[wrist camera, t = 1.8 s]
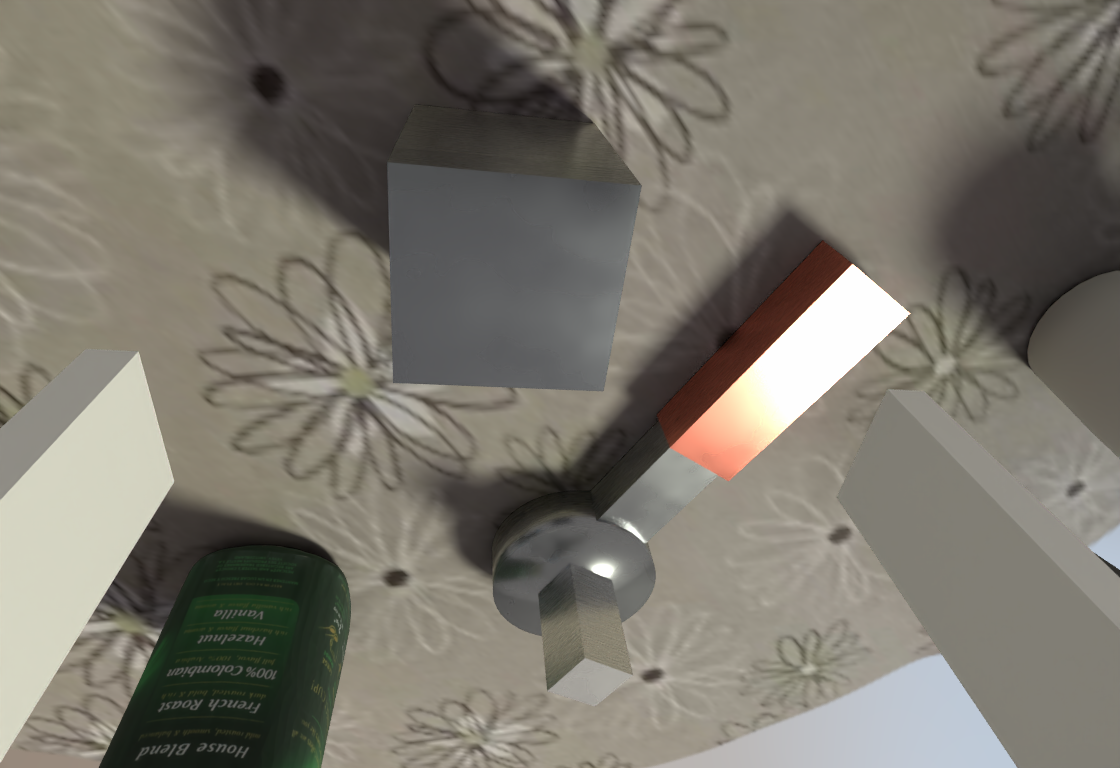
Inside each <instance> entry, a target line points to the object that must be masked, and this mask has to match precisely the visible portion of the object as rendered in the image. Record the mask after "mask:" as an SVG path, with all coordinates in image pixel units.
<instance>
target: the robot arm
mask: <svg viewBox="0 0 1120 768" xmlns="http://www.w3.org/2000/svg"><path fill="white" fill-rule="evenodd" d="M173 483H174V479H173V475H172V472H171V468H170V464H169V461H168V457H167V454H166V450H165V446H164V443H163V439H162V435H161V432H160V428H159V424H158V421H157V417H156V413H155V410H154V406H153V402H152V399H151V395H150V392H149V388H148V384H147V381H146V377H145V373H144V370H143V366H142V362H141V359H140V355H139V351H119V350H99V349H85V350H84V351H83V352H82V353H81V354H80V355H79V356H78V357H77V358H76V359H75V360H74V361H72V362H71V363H70V364H69V365H68V366H67V367H66V368H65V369H64V370H63V371H62V372H61V373H60V374H58V375H57V376H56V377H55V378H54V379H53V380H52V381H51V382H50V383H49V384H48V385H47V386H46V387H44V388H43V389H42V390H41V391H40V392H39V393H38V394H37V395H36V396H35V397H34V398H33V399H32V400H30V401H29V402H28V403H27V404H26V405H25V406H24V407H23V408H22V409H21V410H20V411H19V412H18V413H16V414H15V415H14V416H13V417H12V418H11V419H10V420H9V421H8V422H7V423H6V424H5V425H4V426H2V427H1V428H0V762H1V761H2V759H3V757H4V756H5V754H6V753H7V751H8V749H9V748H10V746H11V745H12V743H13V741H14V740H15V738H16V736H17V735H18V733H19V732H20V730H21V728H22V727H23V725H24V724H25V722H26V720H27V719H28V717H29V715H30V714H31V712H32V711H33V709H34V707H35V706H36V704H37V703H38V701H39V699H40V698H41V696H42V695H43V693H44V691H45V690H46V688H47V686H48V685H49V683H50V682H51V680H52V678H53V677H54V675H55V674H56V672H57V670H58V669H59V667H60V665H61V664H62V662H63V661H64V659H65V657H66V656H67V654H68V653H69V651H70V649H71V648H72V646H73V644H74V643H75V641H76V640H77V638H78V636H79V635H80V633H81V632H82V630H83V628H84V627H85V625H86V623H87V622H88V620H89V619H90V617H91V615H92V614H93V612H94V611H95V609H96V607H97V606H98V604H99V603H100V601H101V599H102V598H103V596H104V594H105V593H106V591H107V590H108V588H109V586H110V585H111V583H112V582H113V580H114V578H115V577H116V575H117V573H118V572H119V570H120V569H121V567H122V565H123V564H124V562H125V561H126V559H127V557H128V556H129V554H130V552H131V551H132V549H133V548H134V546H135V544H136V543H137V541H138V540H139V538H140V536H141V535H142V533H143V531H144V530H145V528H146V527H147V525H148V523H149V522H150V520H151V519H152V517H153V515H154V514H155V512H156V511H157V509H158V507H159V506H160V504H161V502H162V501H163V499H164V498H165V496H166V494H167V493H168V491H169V490H170V488H171V486H172V485H173ZM837 498H838V500H839V501H840V503H841V504H842V506H843V507H844V509H845V510H846V512H847V513H848V515H849V516H850V518H851V519H852V521H853V522H854V524H855V525H856V527H857V528H858V530H859V531H860V533H861V534H862V536H863V537H864V539H865V540H866V542H867V543H868V545H869V546H870V548H871V549H872V551H873V552H874V554H875V555H876V557H877V558H878V560H879V561H880V563H881V564H882V566H883V567H884V569H885V570H886V572H887V573H888V575H889V576H890V578H891V579H892V581H893V582H894V584H895V585H896V587H897V588H898V590H899V591H900V593H901V594H902V596H903V597H904V599H905V600H906V602H907V603H908V605H909V606H910V608H911V609H912V611H913V612H914V614H915V615H916V617H917V618H918V620H919V621H920V623H921V624H922V626H923V627H924V629H925V630H926V632H927V633H928V634H929V636H930V637H931V639H932V640H933V642H934V643H935V645H936V646H937V648H938V649H939V651H940V652H941V654H942V655H943V657H944V658H945V660H946V661H947V663H948V664H949V666H950V667H951V669H952V670H953V672H954V673H955V675H956V676H957V678H958V679H959V681H960V682H961V684H962V685H963V687H964V688H965V690H966V691H967V693H968V694H969V696H970V697H971V699H972V700H973V702H974V703H975V704H976V706H977V708H978V709H979V711H980V712H981V714H982V715H983V717H984V718H985V720H986V721H987V723H988V724H989V726H990V727H991V729H992V730H993V732H994V733H995V735H996V736H997V738H998V739H999V741H1000V742H1001V744H1002V745H1003V747H1004V748H1005V750H1006V751H1007V753H1008V754H1009V755H1010V757H1011V759H1012V760H1013V761H1014V763H1015V764H1016V766H1017V768H1120V570H1119V569H1118V568H1116V567H1115V566H1113V565H1112V564H1110V563H1108V562H1107V561H1105V560H1104V559H1103V558H1101V557H1100V556H1098V555H1097V554H1095V553H1094V552H1092V551H1091V550H1090V549H1089V548H1088V547H1087V546H1086V545H1085V544H1084V543H1083V542H1082V541H1081V540H1080V539H1079V538H1078V537H1077V536H1076V535H1074V534H1073V533H1072V532H1071V531H1070V530H1069V529H1068V528H1067V527H1066V526H1065V525H1064V524H1063V523H1062V522H1061V521H1060V520H1059V519H1058V518H1057V517H1056V516H1055V515H1054V514H1052V513H1051V512H1050V511H1049V510H1048V509H1047V508H1046V507H1045V506H1044V505H1043V504H1042V503H1041V502H1040V501H1039V500H1038V499H1037V498H1036V497H1035V496H1034V495H1033V494H1031V493H1030V492H1029V491H1028V490H1027V489H1026V488H1025V487H1024V486H1023V485H1022V484H1021V483H1020V482H1019V481H1018V480H1017V479H1016V478H1015V477H1014V476H1013V475H1012V474H1010V473H1009V472H1008V471H1007V470H1006V469H1005V468H1004V467H1003V466H1002V465H1001V464H1000V463H999V462H998V461H997V460H996V459H995V458H994V457H993V456H992V455H991V454H989V453H988V452H987V451H986V450H985V449H984V448H983V447H982V446H981V445H980V444H979V443H978V442H977V441H976V440H975V439H974V438H973V437H972V436H971V435H970V434H968V433H967V432H966V431H965V430H964V429H963V428H962V427H961V426H960V425H959V424H958V423H957V422H956V421H955V420H954V419H953V418H952V417H951V416H950V415H949V414H948V413H946V412H945V411H944V410H943V409H942V408H941V407H940V406H939V405H938V404H937V403H936V402H935V401H934V400H933V399H932V398H931V397H930V396H929V395H928V394H927V393H925V392H924V391H912V390H892V389H887V391H886V394H885V396H884V398H883V400H882V402H881V404H880V406H879V408H878V411H877V413H876V415H875V417H874V419H873V421H872V423H871V425H870V428H869V430H868V432H867V434H866V436H865V438H864V440H863V442H862V445H861V447H860V449H859V451H858V453H857V455H856V457H855V459H854V461H853V464H852V466H851V468H850V470H849V472H848V474H847V476H846V478H845V481H844V483H843V485H842V487H841V489H840V491H839V493H838V495H837Z"/></svg>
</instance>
